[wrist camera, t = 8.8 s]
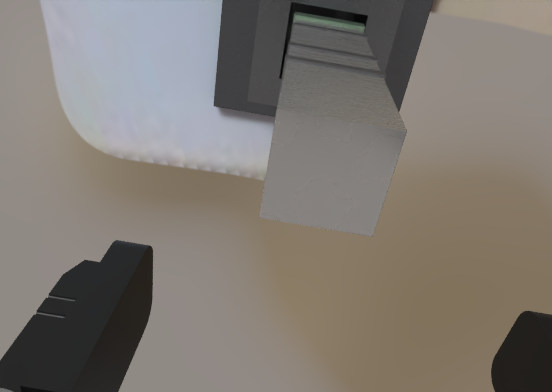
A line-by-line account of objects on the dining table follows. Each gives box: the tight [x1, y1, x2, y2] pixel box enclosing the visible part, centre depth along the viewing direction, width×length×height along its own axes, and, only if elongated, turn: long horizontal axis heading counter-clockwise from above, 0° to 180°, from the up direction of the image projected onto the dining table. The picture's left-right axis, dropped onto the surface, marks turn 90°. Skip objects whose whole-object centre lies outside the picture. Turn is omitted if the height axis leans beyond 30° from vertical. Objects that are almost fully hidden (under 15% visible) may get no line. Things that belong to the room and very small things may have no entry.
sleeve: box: [214, 0, 433, 117], centre depth 34 cm, size 16×16×8 cm
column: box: [260, 12, 407, 237], centre depth 23 cm, size 4×4×18 cm
